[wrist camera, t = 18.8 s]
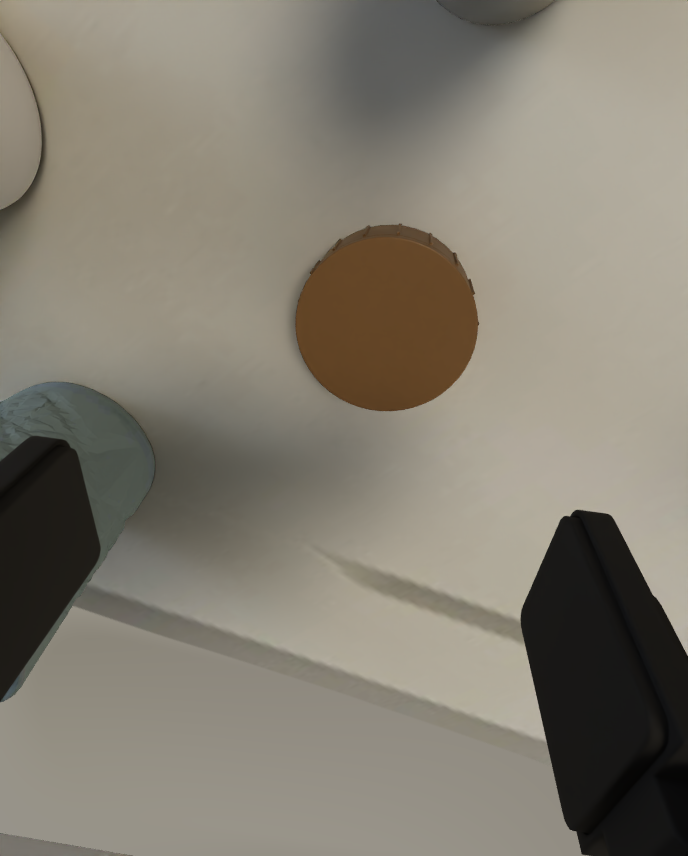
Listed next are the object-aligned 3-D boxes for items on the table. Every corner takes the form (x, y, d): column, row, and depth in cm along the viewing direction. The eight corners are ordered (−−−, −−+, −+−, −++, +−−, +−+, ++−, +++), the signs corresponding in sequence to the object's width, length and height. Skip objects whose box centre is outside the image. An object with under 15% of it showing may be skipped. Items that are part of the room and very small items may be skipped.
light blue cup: (137, 538, 31) (2, 736, 21) (-19, 463, 30) (-246, 639, 20) (191, 425, 26) (45, 616, 16) (5, 326, 25) (-287, 470, 14)
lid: (460, 201, 19) (464, 211, 17) (483, 372, 22) (489, 398, 20) (284, 246, 21) (269, 261, 19) (331, 398, 24) (323, 425, 22)
